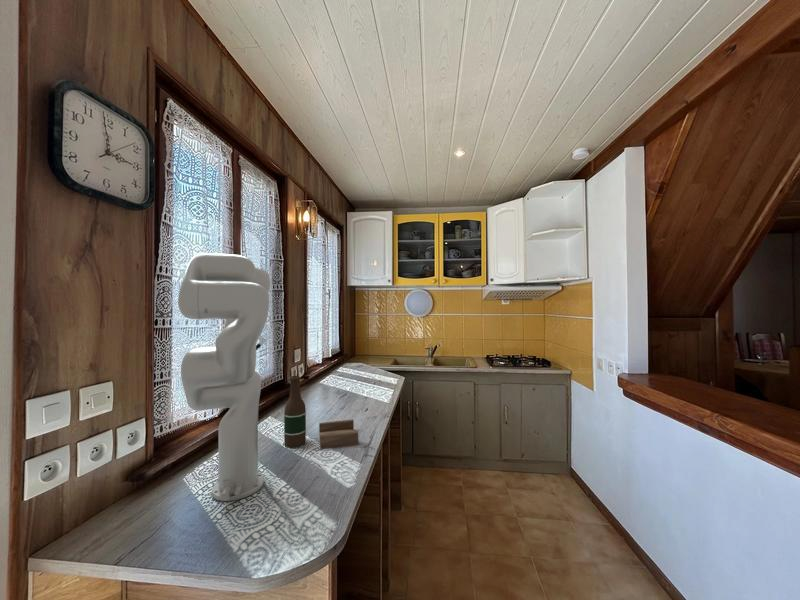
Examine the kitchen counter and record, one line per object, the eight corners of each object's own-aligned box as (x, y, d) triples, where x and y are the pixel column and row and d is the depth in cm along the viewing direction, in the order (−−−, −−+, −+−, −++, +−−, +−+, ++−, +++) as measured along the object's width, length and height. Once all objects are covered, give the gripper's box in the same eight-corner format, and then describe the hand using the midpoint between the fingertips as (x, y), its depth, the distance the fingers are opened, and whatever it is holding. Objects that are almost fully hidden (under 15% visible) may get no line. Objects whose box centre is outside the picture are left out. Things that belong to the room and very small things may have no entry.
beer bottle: (309, 439, 118) (309, 373, 118) (301, 448, 110) (301, 378, 110) (289, 438, 118) (289, 373, 119) (279, 448, 111) (279, 378, 111)
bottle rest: (358, 444, 113) (358, 432, 113) (320, 448, 110) (320, 437, 110) (353, 429, 127) (353, 419, 127) (319, 433, 123) (319, 422, 123)
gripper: (210, 311, 104) (210, 367, 104) (267, 311, 109) (267, 364, 109) (216, 311, 112) (216, 363, 111) (269, 311, 116) (269, 360, 116)
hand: (241, 363), depth 110 cm, fingers open, 5 cm apart
